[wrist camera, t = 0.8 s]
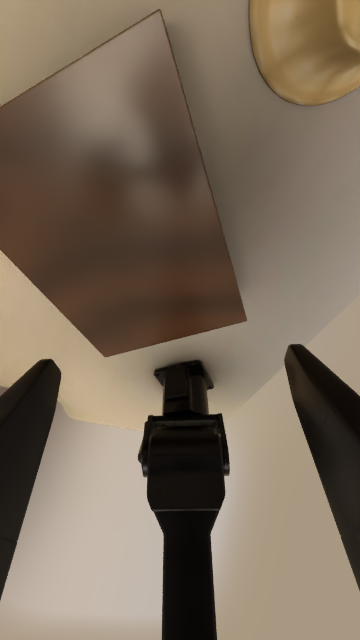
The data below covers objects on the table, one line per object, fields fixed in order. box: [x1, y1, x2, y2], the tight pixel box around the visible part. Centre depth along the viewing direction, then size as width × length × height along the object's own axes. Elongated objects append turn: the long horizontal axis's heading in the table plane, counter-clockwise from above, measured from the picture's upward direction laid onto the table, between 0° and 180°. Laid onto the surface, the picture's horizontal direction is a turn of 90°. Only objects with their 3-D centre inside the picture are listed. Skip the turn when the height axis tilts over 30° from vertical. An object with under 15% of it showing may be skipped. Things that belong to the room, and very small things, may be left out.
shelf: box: [0, 9, 247, 357], centre depth 19 cm, size 18×14×4 cm
